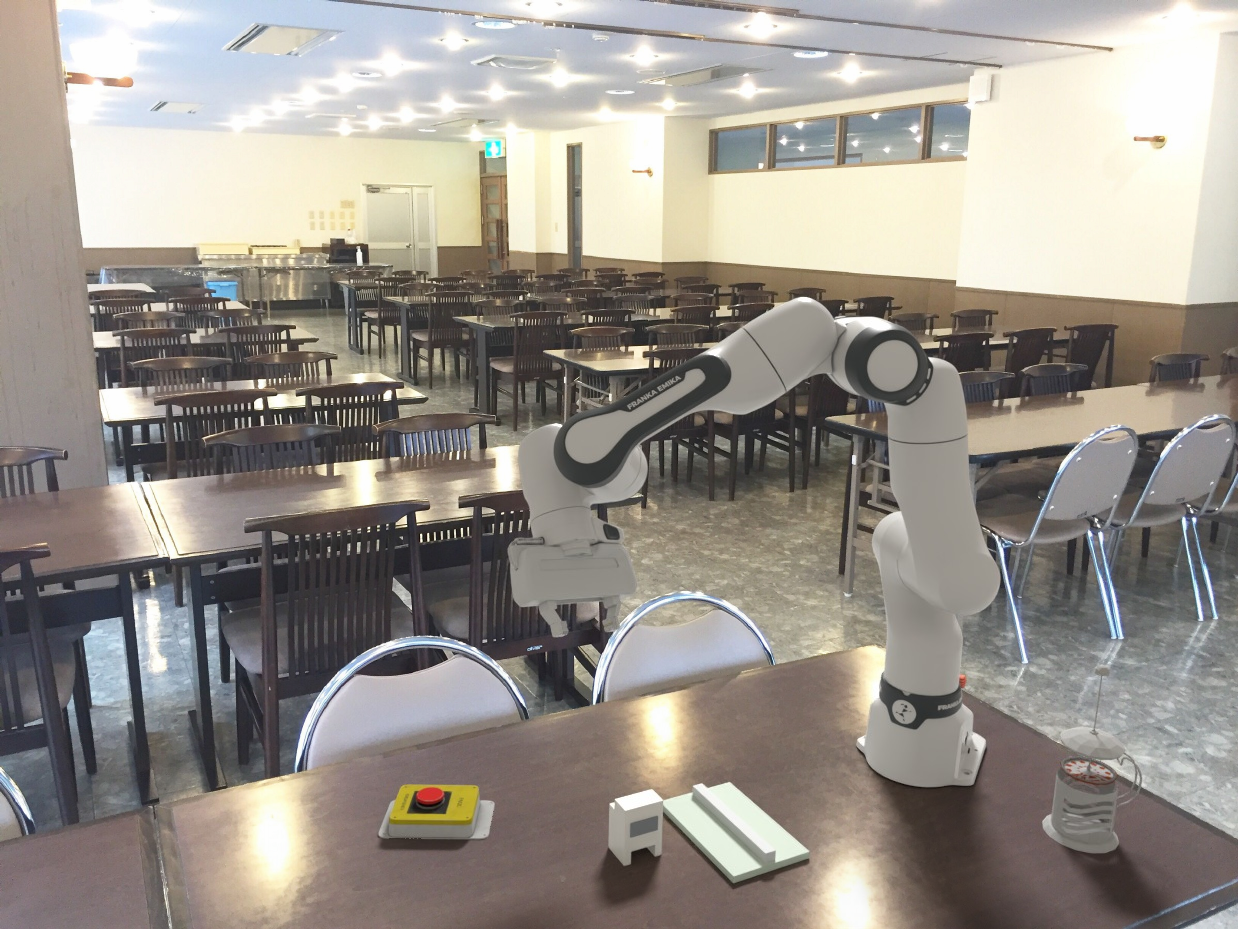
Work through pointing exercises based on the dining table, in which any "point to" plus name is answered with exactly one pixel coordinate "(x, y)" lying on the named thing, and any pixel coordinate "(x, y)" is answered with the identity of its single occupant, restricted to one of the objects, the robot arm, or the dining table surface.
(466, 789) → the emergency button
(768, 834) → the rail board
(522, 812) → the dining table surface
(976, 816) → the dining table surface
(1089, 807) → the french press
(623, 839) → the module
